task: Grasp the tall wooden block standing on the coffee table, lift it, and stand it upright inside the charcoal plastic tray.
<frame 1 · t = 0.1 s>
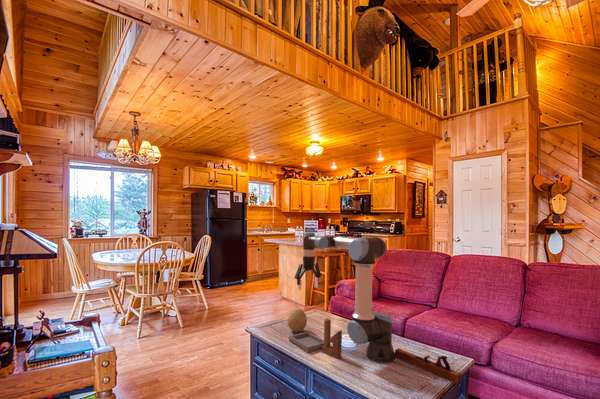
hand: (308, 288, 203), 28 cm above the table, fingers open, 13 cm apart
wooden block: (331, 355, 170), on the table
hand plane: (425, 369, 157), on the table
fossilized egg: (296, 331, 203), on the table
tray: (307, 344, 183), on the table
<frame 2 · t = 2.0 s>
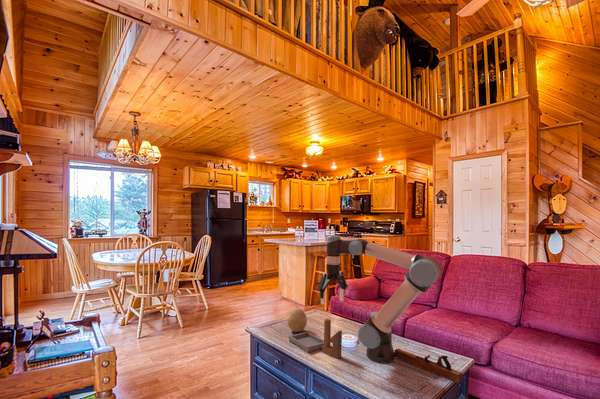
hand: (332, 302, 172), 28 cm above the table, fingers open, 13 cm apart
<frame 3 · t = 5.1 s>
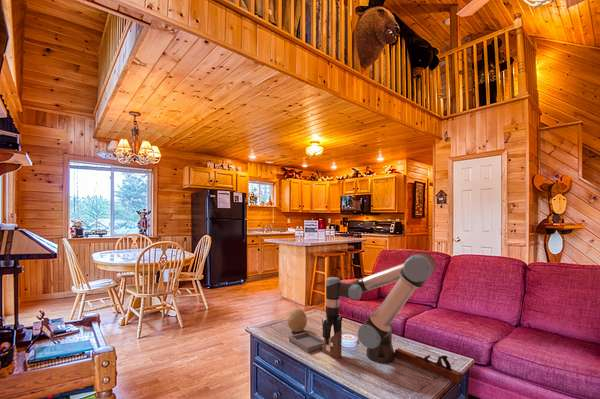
hand: (331, 349, 170), 3 cm above the table, fingers closed on wooden block, 4 cm apart
wooden block: (331, 355, 170), on the table, touching gripper
everything else where it was.
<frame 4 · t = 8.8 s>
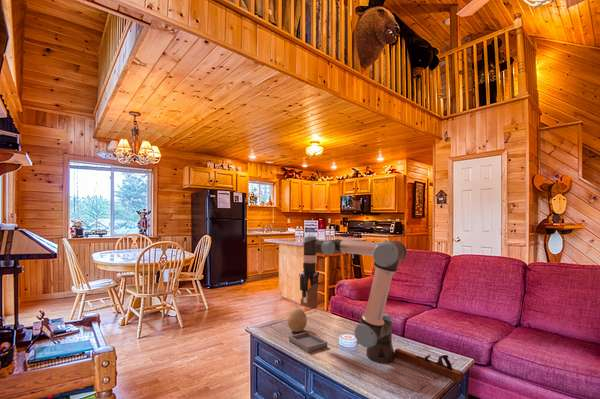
hand: (308, 301, 184), 25 cm above the table, fingers closed on wooden block, 4 cm apart
wooden block: (308, 306, 184), point 22 cm above the table, touching gripper
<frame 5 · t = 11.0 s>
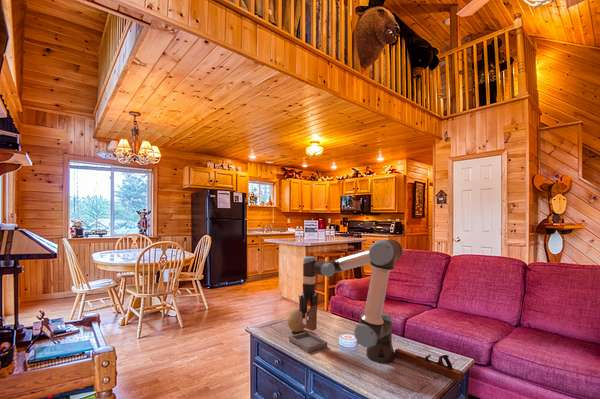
hand: (308, 322, 184), 12 cm above the table, fingers closed on wooden block, 4 cm apart
wooden block: (308, 328, 184), point 9 cm above the table, touching gripper
when the fingers open (5 cm above the table, at t = 12.7 s): wooden block drops 1 cm, resting on tray.
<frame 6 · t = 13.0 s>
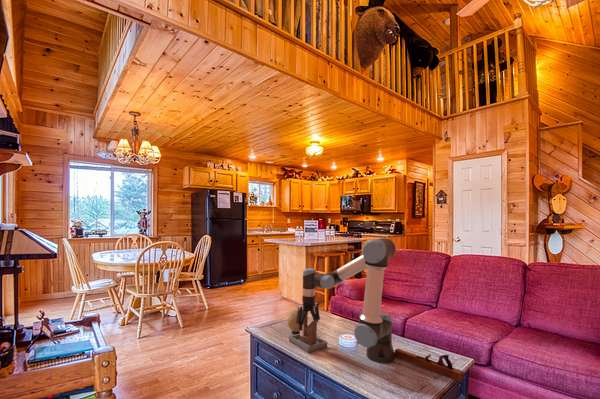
hand: (307, 334, 183), 6 cm above the table, fingers open, 8 cm apart
wooden block: (307, 342, 183), point 1 cm above the table, touching tray
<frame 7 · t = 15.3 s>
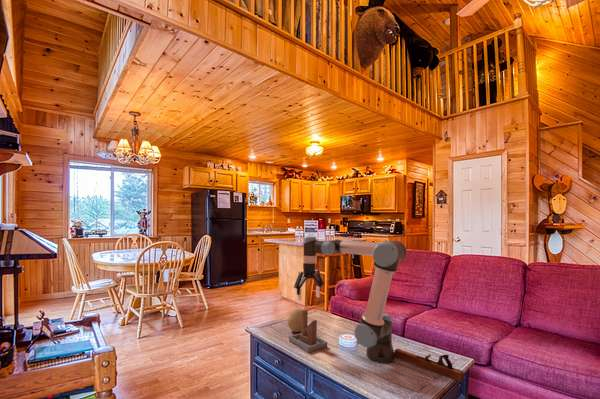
hand: (308, 298, 184), 26 cm above the table, fingers open, 13 cm apart
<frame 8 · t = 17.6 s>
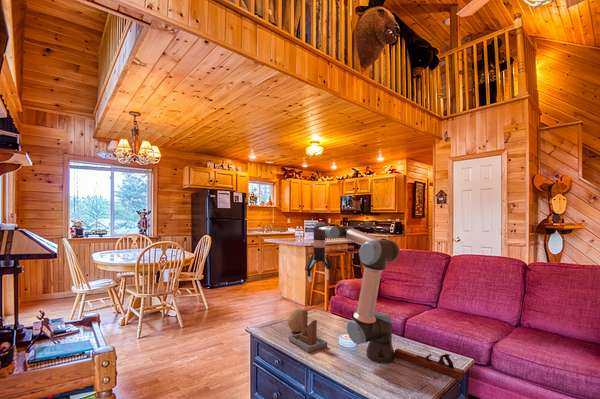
hand: (318, 280, 197), 35 cm above the table, fingers open, 13 cm apart
at the end: wooden block inside the target area on the tray (0.1 cm from its centre), point 0.8 cm above the tray's base; wooden block tilted 0°; the gripper is holding nothing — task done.
